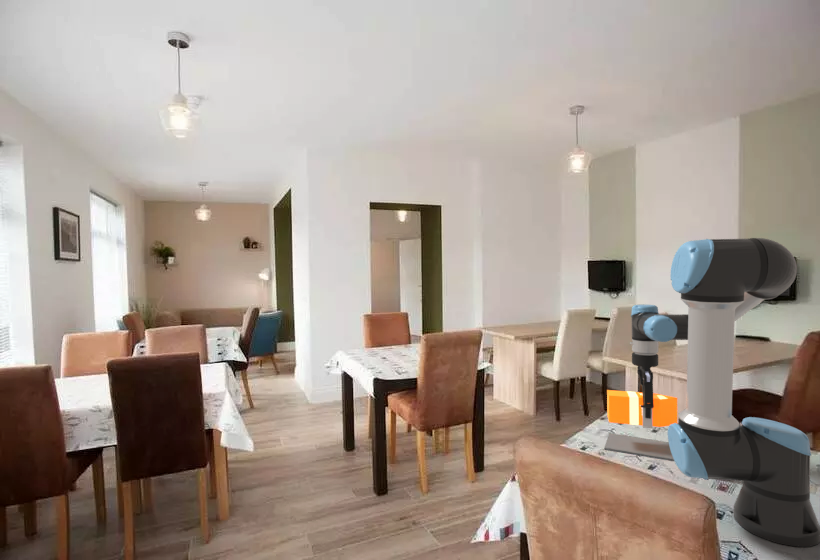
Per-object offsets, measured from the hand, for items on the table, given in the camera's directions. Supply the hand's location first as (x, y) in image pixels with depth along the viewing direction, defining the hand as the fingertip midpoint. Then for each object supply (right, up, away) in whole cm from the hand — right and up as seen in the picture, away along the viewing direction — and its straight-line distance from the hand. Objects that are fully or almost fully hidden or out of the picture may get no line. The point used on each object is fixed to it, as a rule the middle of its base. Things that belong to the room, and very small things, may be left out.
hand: (645, 422), depth 144 cm
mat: (-1, -8, +1) cm, 8 cm away
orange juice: (-11, +5, +4) cm, 12 cm away
